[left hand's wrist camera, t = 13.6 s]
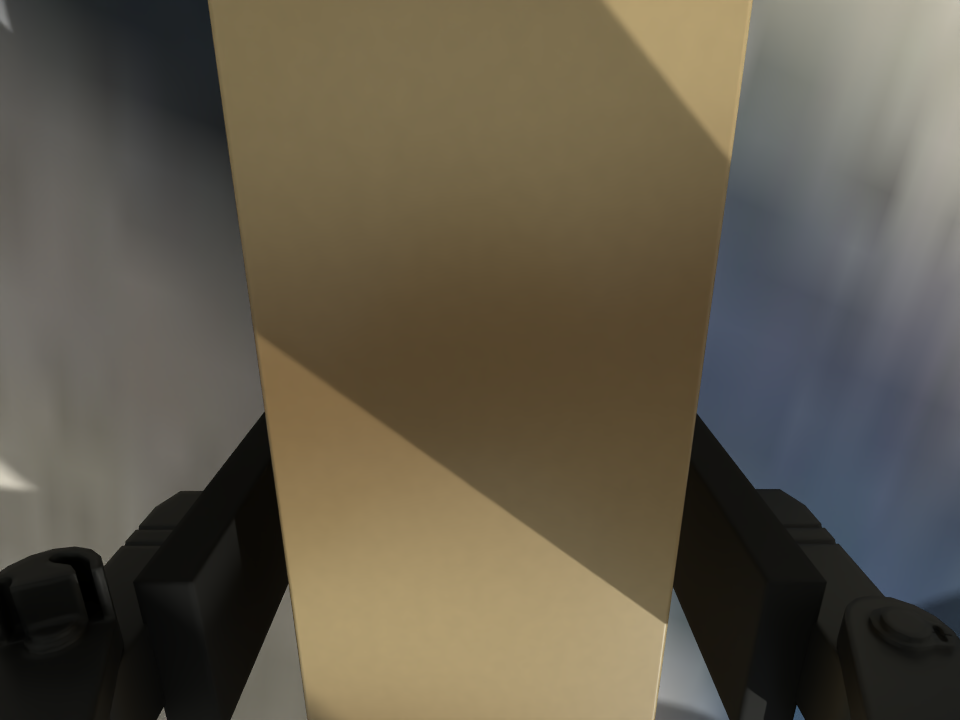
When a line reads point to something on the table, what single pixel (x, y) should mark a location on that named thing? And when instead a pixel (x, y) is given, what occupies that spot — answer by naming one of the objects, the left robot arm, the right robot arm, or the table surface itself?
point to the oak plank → (480, 333)
